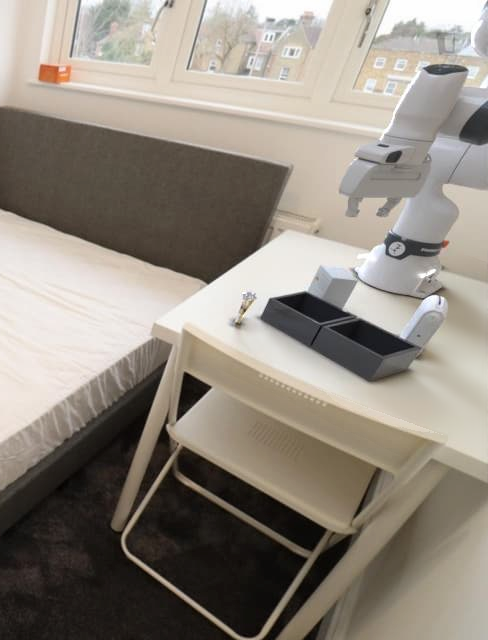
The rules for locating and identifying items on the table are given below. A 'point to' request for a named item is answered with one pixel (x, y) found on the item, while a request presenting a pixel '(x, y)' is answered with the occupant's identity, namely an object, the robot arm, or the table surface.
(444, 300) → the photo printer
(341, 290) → the small box
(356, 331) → the basin
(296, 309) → the basin
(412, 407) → the table surface
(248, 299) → the ring
